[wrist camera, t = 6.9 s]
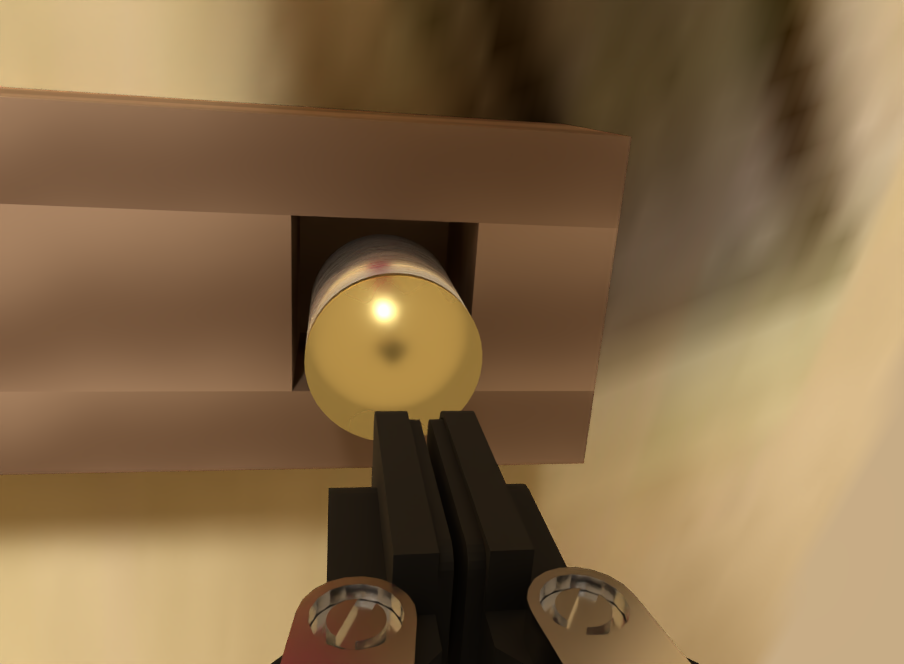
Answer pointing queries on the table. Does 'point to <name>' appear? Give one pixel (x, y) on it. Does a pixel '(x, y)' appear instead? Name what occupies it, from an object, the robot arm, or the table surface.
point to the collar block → (279, 273)
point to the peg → (388, 335)
